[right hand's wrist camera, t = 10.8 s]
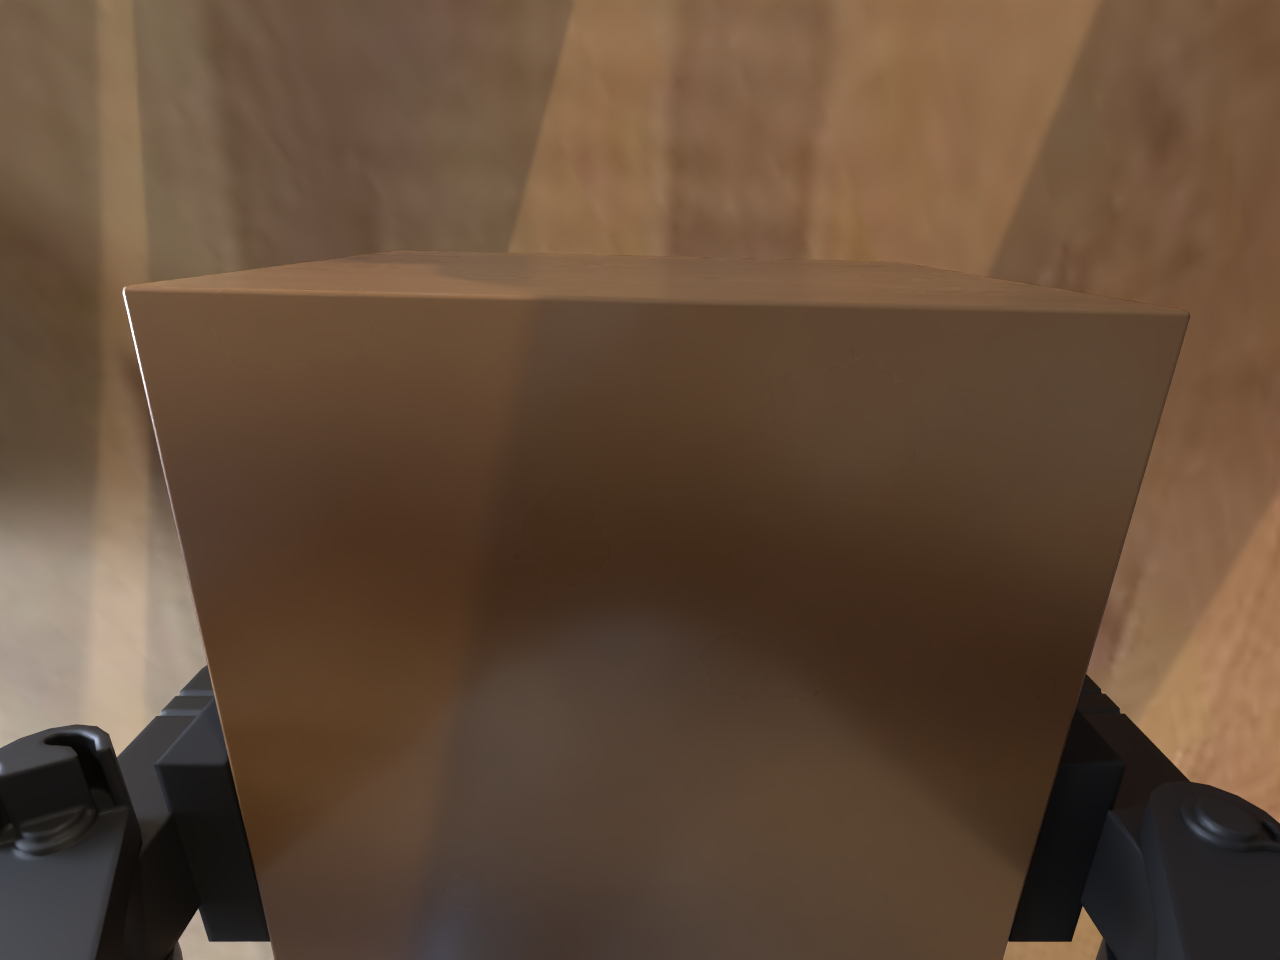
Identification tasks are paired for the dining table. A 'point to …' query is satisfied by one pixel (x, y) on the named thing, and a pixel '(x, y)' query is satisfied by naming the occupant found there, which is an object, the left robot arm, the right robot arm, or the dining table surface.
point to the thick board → (646, 590)
